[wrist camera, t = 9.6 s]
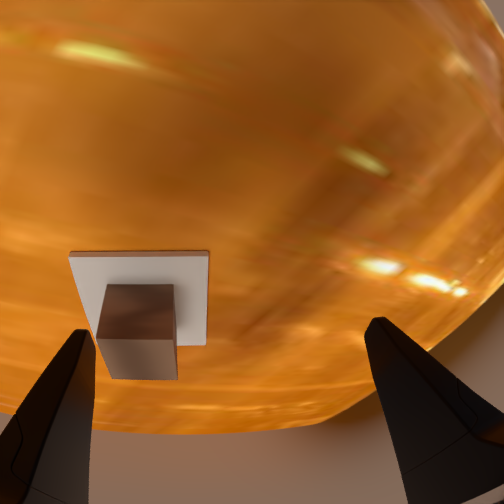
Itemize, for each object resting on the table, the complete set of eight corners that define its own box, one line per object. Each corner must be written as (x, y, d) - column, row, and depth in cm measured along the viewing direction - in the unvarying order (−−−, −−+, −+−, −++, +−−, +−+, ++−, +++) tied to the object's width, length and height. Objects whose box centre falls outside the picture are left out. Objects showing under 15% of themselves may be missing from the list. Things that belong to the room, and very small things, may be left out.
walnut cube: (173, 284, 23) (172, 339, 19) (176, 327, 26) (177, 379, 22) (107, 284, 22) (95, 338, 18) (118, 327, 25) (112, 378, 21)
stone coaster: (208, 250, 22) (208, 256, 22) (205, 339, 28) (205, 344, 28) (70, 251, 20) (68, 257, 20) (98, 339, 26) (97, 344, 26)
